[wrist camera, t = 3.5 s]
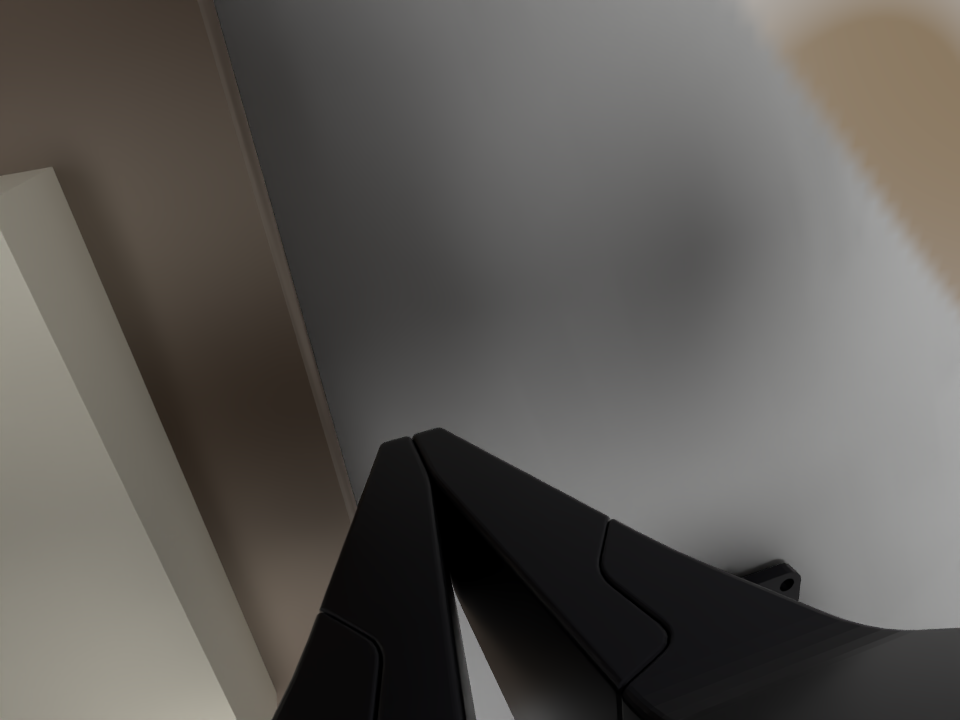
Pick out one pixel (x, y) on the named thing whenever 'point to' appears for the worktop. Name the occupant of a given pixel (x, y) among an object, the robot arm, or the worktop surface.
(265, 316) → the deck
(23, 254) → the cream rectangular block
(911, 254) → the worktop surface
